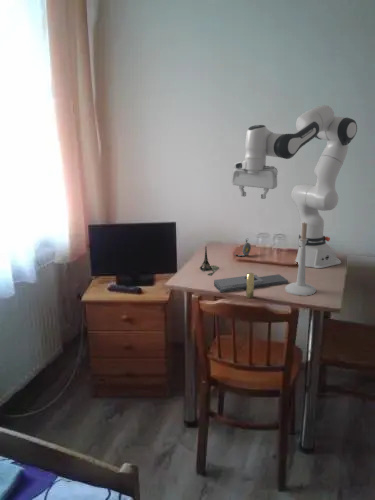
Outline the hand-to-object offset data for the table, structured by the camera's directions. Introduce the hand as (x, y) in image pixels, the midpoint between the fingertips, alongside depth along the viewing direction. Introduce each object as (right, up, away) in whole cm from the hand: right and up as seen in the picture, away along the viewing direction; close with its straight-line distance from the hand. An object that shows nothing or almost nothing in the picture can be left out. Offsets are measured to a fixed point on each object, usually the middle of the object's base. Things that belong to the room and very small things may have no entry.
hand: (253, 197), depth 193 cm
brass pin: (-2, -42, -6) cm, 43 cm away
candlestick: (+20, -40, -1) cm, 45 cm away
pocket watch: (+1, -26, +46) cm, 52 cm away
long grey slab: (0, -38, +6) cm, 39 cm away
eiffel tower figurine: (-19, -33, +26) cm, 46 cm away
